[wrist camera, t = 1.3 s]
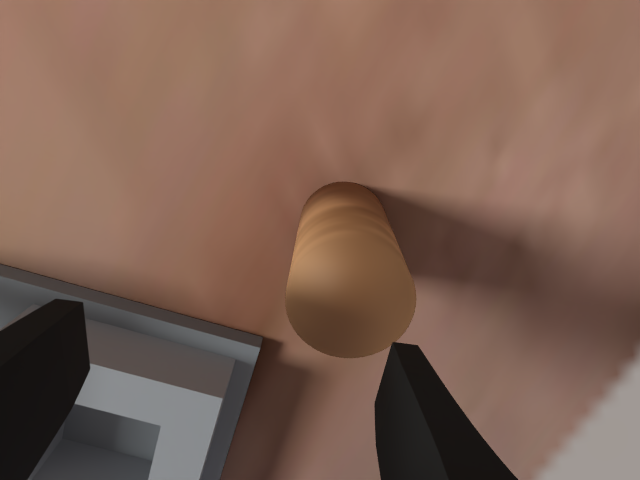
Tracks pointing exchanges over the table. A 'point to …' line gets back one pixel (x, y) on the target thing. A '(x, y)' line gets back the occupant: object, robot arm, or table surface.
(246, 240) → the table surface
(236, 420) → the socket stand
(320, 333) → the peg
